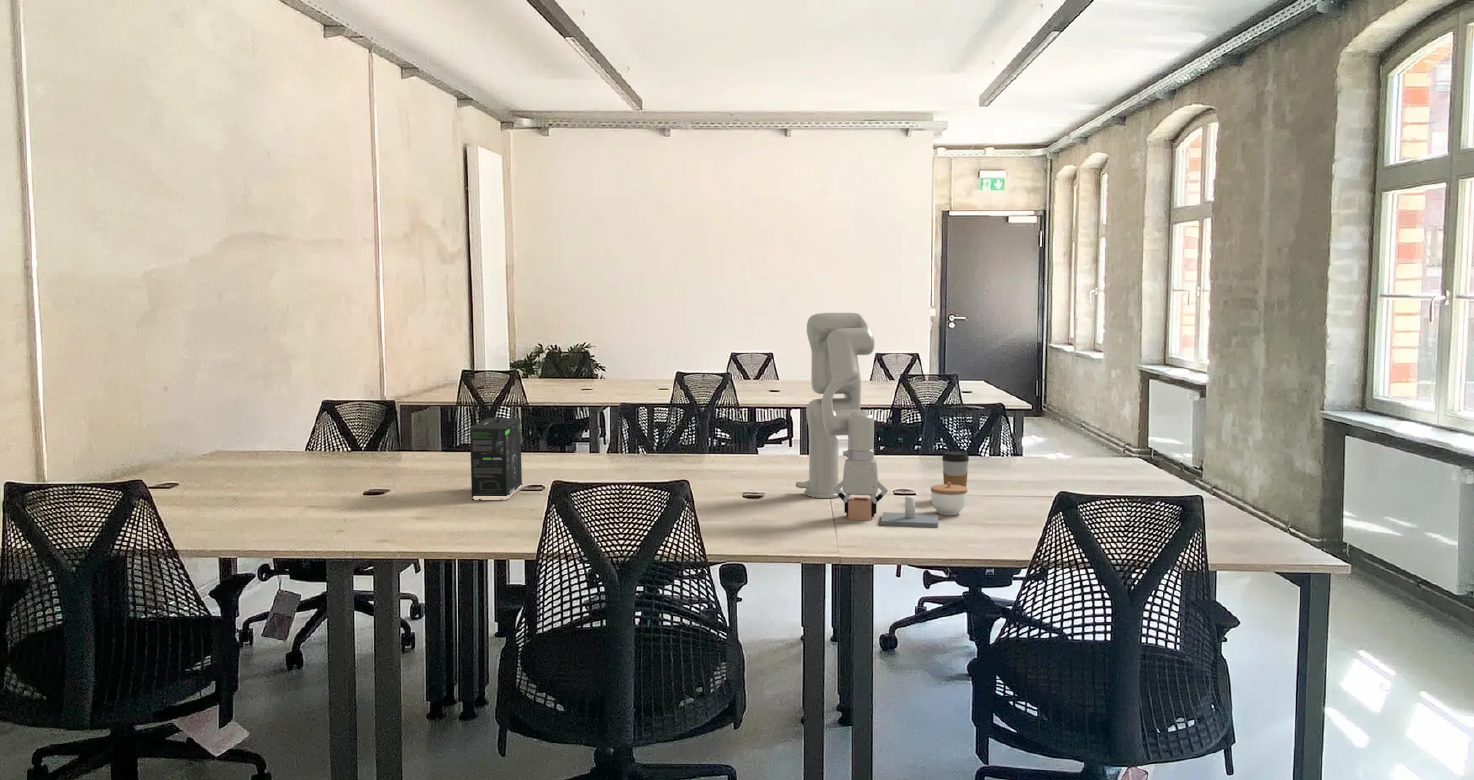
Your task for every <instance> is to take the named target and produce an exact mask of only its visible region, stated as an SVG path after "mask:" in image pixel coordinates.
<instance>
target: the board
mask: <svg viewBox="0 0 1474 780" xmlns="http://www.w3.org/2000/svg"><path fill="white" fill-rule="evenodd" d="M904 501H905V502H904V503H905V504H904V512H888V511H887V512H885V511H884V512H882V515H881V518H880V519H881V520H880V526H887V527H888V526H889V527H890V526H891V527H892V526H894V527H912V528H913V527H917V528H919V527H921V528H938V527H939V513H937V514H936V513H916V496H912V495H909V496H907V495H906V496H905V498H904Z"/></svg>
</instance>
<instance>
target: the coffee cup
mask: <svg viewBox="0 0 1474 780" xmlns="http://www.w3.org/2000/svg"><path fill="white" fill-rule="evenodd" d="M969 458H970V457H969V456H968V452H966V451H959V450H949V451H948V450H947V451H944V452H943V455H942V459H941V460H942V468H943V469H942V472H943V473H942V474H943V475H942V476H943V484H947V482H951V485H960V486H964V487H966V488H967V485H968V484H967V482H968V474H969V471H968V470H969V469H968V467H969V461H970V459H969Z"/></svg>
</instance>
